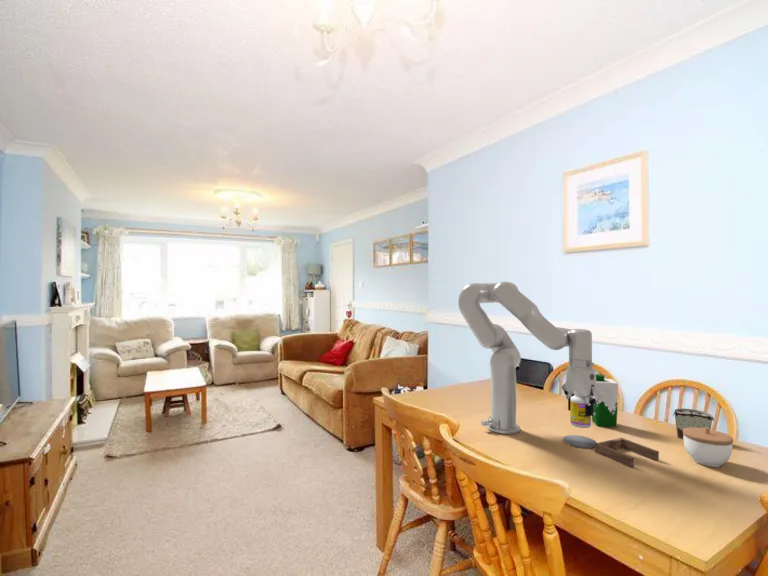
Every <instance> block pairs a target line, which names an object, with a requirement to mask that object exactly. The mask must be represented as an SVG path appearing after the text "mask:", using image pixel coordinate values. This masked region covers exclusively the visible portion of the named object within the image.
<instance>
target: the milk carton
mask: <svg viewBox="0 0 768 576" xmlns="http://www.w3.org/2000/svg"><path fill="white" fill-rule="evenodd" d="M595 375H596V381H597V391H598V393H599V394H600V395H601V398H600V399H599V400H598V402H596V403H595V405H593V411H594V413H593V416H591V422H593V424H594V425H596V426H597V427H602V426H603V428H604V427H605V428H617V427H618V426H617V423H618V422H617V421H618V389H619V388H618V385H619V383H618V382H616V381H615V380H614V379H611V378H605V375H603V374H596V373H595ZM594 397H595V396H593V398H594Z"/></svg>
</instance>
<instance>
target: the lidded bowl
mask: <svg viewBox="0 0 768 576" xmlns="http://www.w3.org/2000/svg"><path fill="white" fill-rule="evenodd" d="M682 440H683V446H684V449H685V451H686V453H687V454H688V455H689V457H690V458H692V461H694V462H695V463H697V464H700V465H703V466H706V467H713V468H720V467H722V466H723V464H725V463H727V462H728V461H729V460H730V459H731V456H732V453H733V443H734V438H733V437H732V436H730V435H729V434H727V433H724V432H721V431H718V430H715V429H712V428H711V429H710V428H707V427H705V428H698V427H689V428H684V429H683V439H682Z"/></svg>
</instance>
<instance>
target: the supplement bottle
mask: <svg viewBox="0 0 768 576" xmlns="http://www.w3.org/2000/svg"><path fill="white" fill-rule="evenodd" d="M574 393H575V394H574V396H572V397H571V408H570V412H569V413H570V421H569V422H570V424H571V426H573V427H575V428H576V427H577V428H581V429H588V428H591V425H592V423H591V422H592V416H588V417H587V416H586V415H585V406H586V405H587V403H586V400H585V397H583V396H580V395H578V392H577V391H575V392H574ZM589 400H590V398H589Z"/></svg>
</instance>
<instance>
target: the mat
mask: <svg viewBox="0 0 768 576" xmlns="http://www.w3.org/2000/svg"><path fill="white" fill-rule="evenodd" d="M562 441H563V443H565V444H566V445H568V444H569V445H568V446H571V447H574V448H579V449H586V450H587V449H595V443H598V442H597V441H596V440H594V438H590V437H587V436H583V435H578V434H577V435H576V434H569V435H565V436H563V437H562Z"/></svg>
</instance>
